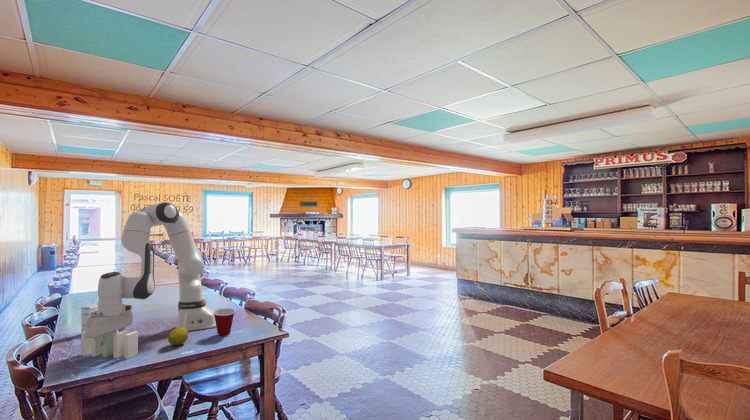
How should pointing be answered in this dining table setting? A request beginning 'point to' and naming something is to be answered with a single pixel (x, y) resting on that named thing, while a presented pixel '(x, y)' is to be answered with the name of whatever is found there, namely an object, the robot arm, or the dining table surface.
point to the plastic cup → (224, 320)
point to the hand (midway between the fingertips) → (109, 341)
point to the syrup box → (87, 314)
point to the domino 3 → (108, 343)
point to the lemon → (178, 336)
